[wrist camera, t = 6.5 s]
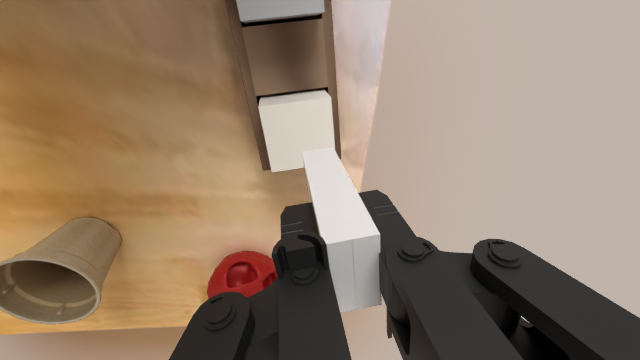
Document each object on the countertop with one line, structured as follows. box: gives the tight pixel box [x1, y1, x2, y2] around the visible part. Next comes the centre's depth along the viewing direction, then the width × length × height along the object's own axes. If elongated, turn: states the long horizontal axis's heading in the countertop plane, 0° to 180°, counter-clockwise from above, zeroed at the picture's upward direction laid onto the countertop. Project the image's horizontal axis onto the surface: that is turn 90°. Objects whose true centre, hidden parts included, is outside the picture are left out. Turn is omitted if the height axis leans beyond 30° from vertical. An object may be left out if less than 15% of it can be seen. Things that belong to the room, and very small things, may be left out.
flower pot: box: [0, 217, 121, 324], centre depth 30 cm, size 9×9×9 cm
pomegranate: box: [207, 251, 277, 299], centre depth 36 cm, size 10×10×9 cm
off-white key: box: [258, 88, 335, 172], centre depth 26 cm, size 6×6×5 cm
